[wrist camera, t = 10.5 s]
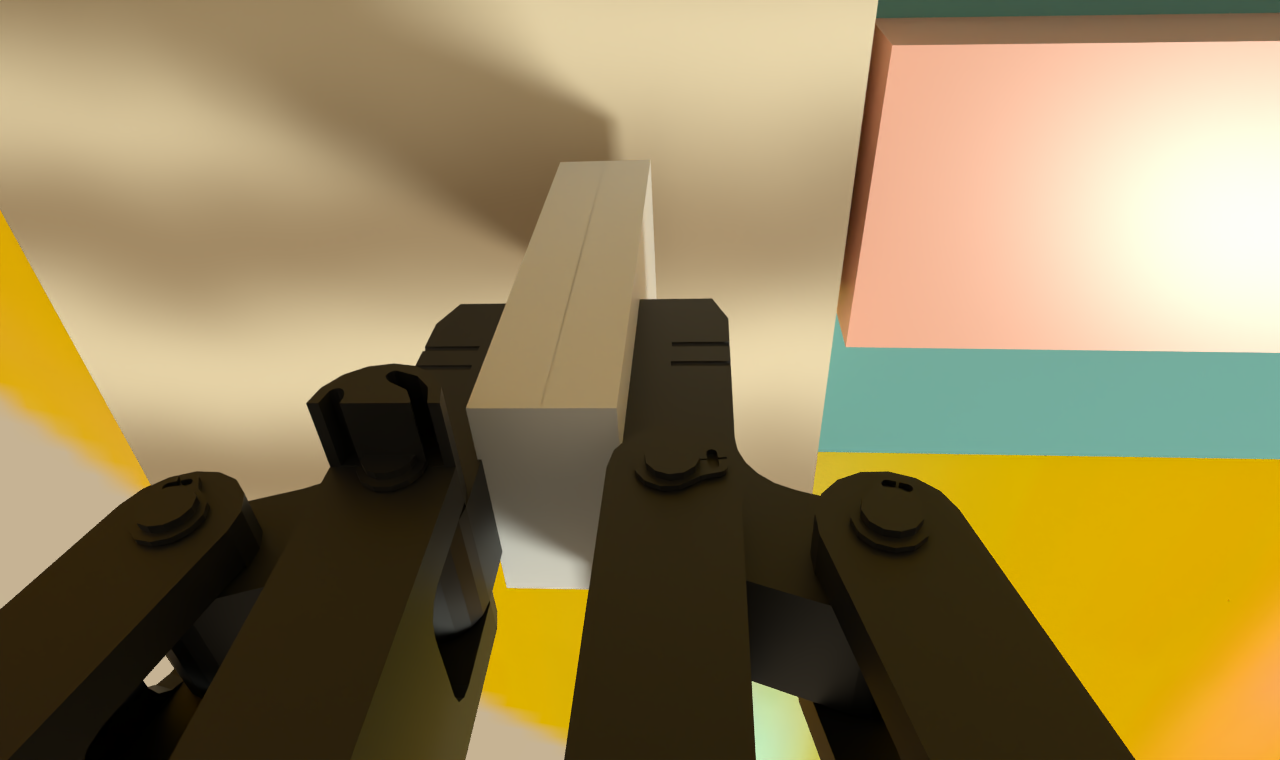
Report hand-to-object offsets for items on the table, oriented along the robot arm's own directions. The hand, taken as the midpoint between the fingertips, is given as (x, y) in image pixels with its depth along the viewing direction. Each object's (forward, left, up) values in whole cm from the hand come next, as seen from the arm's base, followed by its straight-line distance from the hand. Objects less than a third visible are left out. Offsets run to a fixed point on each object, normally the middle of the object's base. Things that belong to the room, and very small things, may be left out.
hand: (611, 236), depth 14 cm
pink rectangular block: (0, +9, -4) cm, 10 cm away
